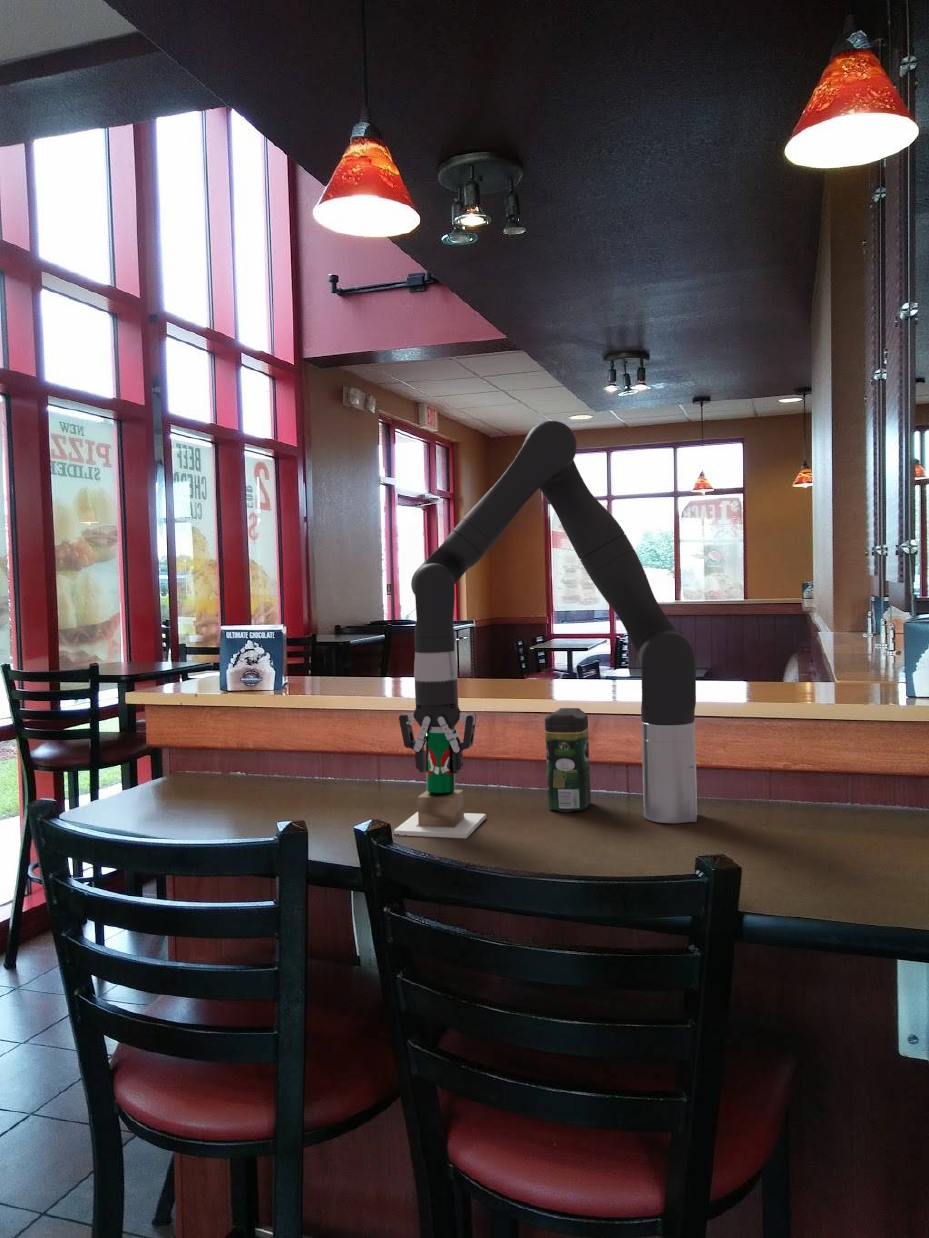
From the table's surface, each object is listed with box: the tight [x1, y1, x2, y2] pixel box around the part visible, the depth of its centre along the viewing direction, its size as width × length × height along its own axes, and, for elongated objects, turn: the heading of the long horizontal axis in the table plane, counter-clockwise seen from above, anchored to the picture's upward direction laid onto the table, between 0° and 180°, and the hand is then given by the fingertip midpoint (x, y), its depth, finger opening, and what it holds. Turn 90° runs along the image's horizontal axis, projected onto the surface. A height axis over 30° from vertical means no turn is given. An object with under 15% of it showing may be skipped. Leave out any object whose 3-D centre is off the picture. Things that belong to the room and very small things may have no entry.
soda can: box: [425, 726, 456, 795], centre depth 162 cm, size 5×5×12 cm
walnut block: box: [417, 789, 465, 827], centre depth 162 cm, size 6×6×5 cm
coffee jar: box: [544, 707, 592, 813], centre depth 173 cm, size 10×8×19 cm
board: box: [393, 811, 487, 839], centre depth 163 cm, size 13×13×1 cm
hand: (439, 771), depth 162 cm, fingers open, 5 cm apart
